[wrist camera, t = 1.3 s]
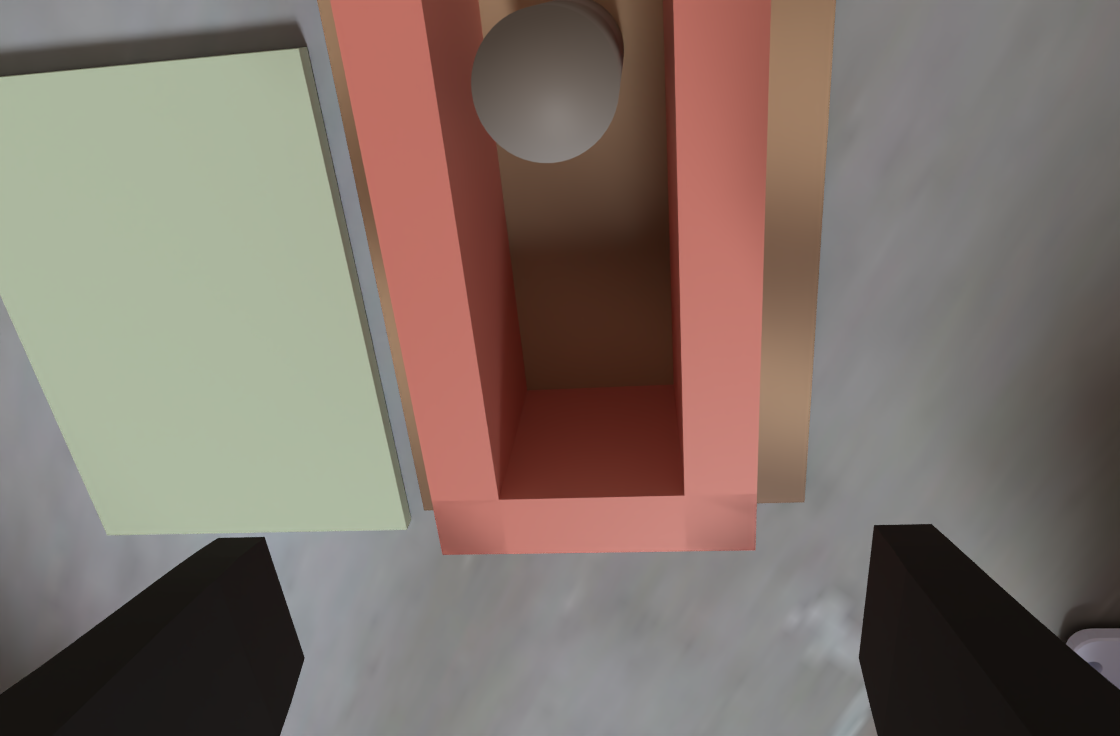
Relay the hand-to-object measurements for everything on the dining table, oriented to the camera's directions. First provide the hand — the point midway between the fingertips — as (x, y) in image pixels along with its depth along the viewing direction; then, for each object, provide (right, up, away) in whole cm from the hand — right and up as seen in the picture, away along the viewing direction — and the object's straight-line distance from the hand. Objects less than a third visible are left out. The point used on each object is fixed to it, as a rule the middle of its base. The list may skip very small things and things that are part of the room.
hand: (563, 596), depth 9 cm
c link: (0, +6, +6) cm, 8 cm away
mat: (-8, +4, +8) cm, 12 cm away
